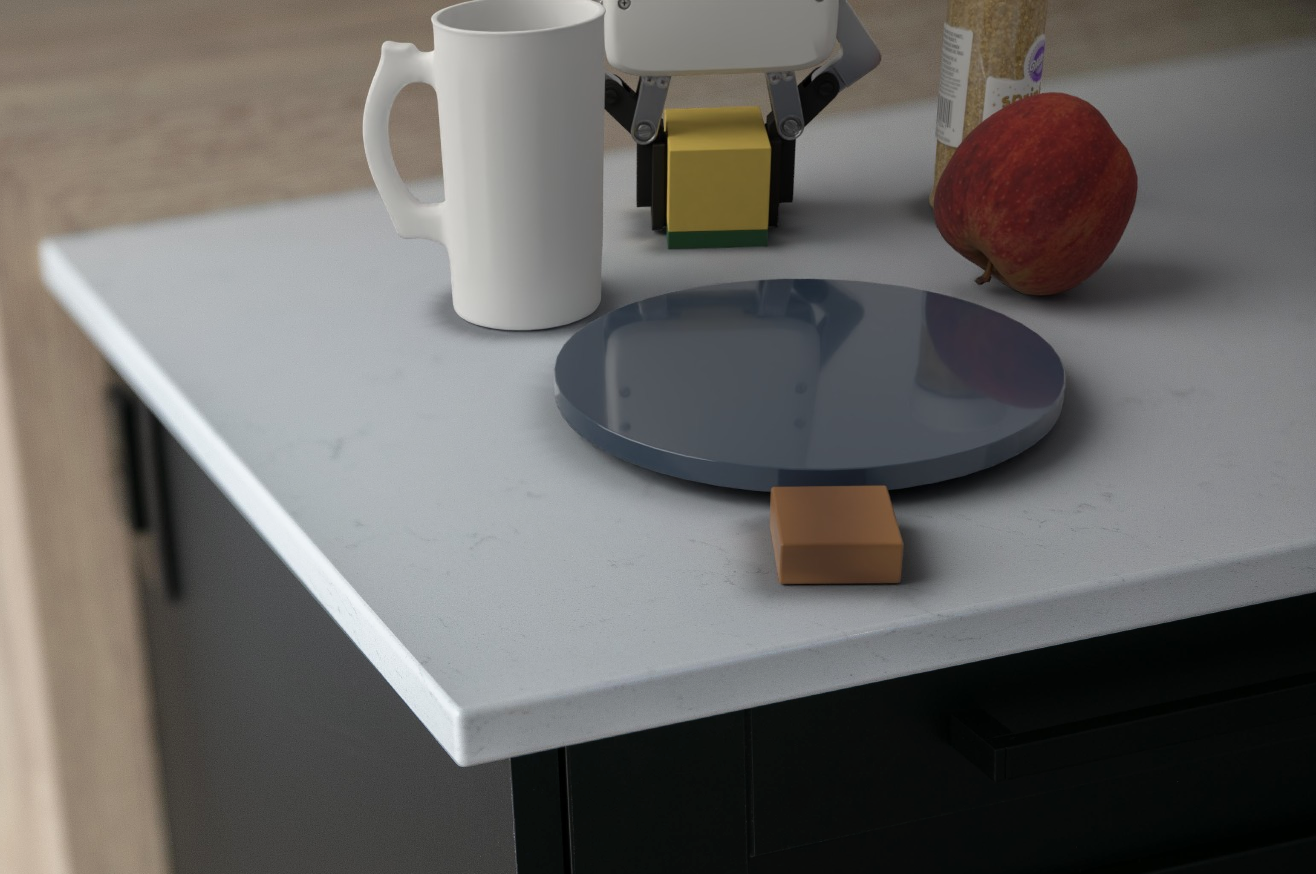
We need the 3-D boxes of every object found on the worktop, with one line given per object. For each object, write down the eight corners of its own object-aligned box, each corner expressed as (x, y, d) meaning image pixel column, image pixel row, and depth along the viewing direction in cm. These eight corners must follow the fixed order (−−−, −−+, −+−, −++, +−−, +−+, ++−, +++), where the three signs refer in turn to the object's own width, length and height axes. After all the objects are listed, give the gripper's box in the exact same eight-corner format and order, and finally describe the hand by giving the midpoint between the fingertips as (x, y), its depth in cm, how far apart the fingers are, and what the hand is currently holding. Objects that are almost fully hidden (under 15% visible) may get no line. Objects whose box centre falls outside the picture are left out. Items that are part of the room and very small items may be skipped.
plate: (1008, 308, 75) (1012, 272, 74) (1115, 507, 59) (1121, 464, 58) (559, 319, 77) (558, 284, 76) (548, 514, 61) (547, 473, 61)
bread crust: (884, 524, 59) (887, 484, 59) (900, 584, 56) (904, 542, 55) (769, 525, 60) (770, 485, 59) (778, 585, 56) (780, 544, 56)
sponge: (663, 202, 90) (664, 109, 88) (756, 199, 89) (759, 105, 87) (667, 249, 84) (669, 150, 81) (767, 247, 83) (771, 147, 81)
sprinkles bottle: (1025, 226, 83) (1059, -91, 77) (920, 220, 85) (945, -91, 78) (1033, 195, 87) (1067, -109, 80) (933, 190, 88) (957, -109, 82)
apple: (1143, 321, 73) (1173, 116, 69) (938, 324, 74) (955, 123, 70) (1104, 258, 79) (1129, 67, 75) (916, 262, 80) (930, 74, 76)
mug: (621, 281, 80) (619, -6, 74) (591, 337, 75) (587, 32, 69) (397, 273, 83) (379, -5, 77) (353, 327, 77) (329, 32, 72)
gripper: (918, -228, 80) (887, 190, 89) (524, -207, 82) (533, 200, 91) (946, -208, 73) (910, 241, 82) (517, -186, 75) (528, 251, 84)
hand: (713, 215), depth 86 cm, fingers closed on sponge, 4 cm apart
